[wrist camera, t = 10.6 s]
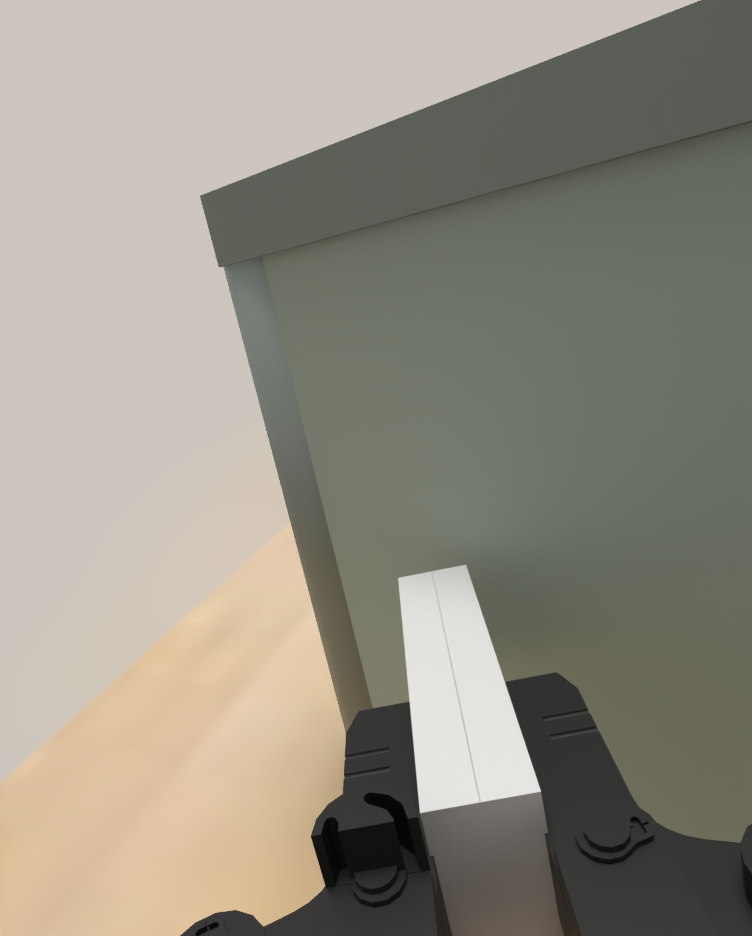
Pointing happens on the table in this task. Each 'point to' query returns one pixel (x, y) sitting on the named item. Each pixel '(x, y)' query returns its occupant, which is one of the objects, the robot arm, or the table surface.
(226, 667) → the table surface
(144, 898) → the table surface
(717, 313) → the panel
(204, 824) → the table surface
